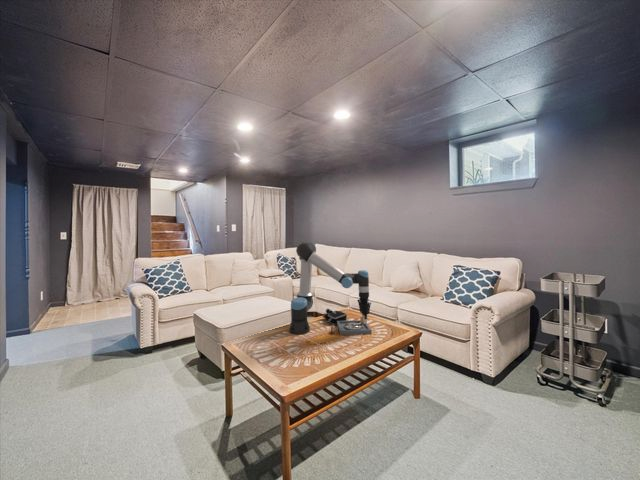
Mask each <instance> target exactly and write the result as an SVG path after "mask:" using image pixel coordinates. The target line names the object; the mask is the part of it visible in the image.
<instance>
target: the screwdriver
mask: <svg viewBox="0 0 640 480" xmlns="http://www.w3.org/2000/svg"><path fill="white" fill-rule="evenodd" d="M337 331H338V330H337V327H334V324H331V332H332V335H337Z"/></svg>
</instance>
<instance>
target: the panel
mask: <svg viewBox="0 0 640 480" xmlns="http://www.w3.org/2000/svg"><path fill="white" fill-rule="evenodd" d="M346 323H359V324H360V319H358V320H357V319H355V320H351V319H350V320H346V321H337V324H336V326H337V328H338V332H339V334H340V336H344V335H345V336H348V335H370V334H372V329H371V327H370V326H369V324H368V322H367V323H365V324H364V325H362V329H359V330H348V329H346V328H345V324H346Z"/></svg>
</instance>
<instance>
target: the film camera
mask: <svg viewBox="0 0 640 480" xmlns="http://www.w3.org/2000/svg"><path fill="white" fill-rule="evenodd" d="M347 315H348V314H347V313H346V312H343V311H341V310H331V309H330V308H326V309H325V312H324V313H323V314H322V318H323V319H327V320H326V321H327V322H328V323H329V324H331V325H333V326H335V325H336V326H337V321H348V319H347V318H348V316H347Z"/></svg>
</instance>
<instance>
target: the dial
mask: <svg viewBox="0 0 640 480" xmlns="http://www.w3.org/2000/svg"><path fill="white" fill-rule="evenodd" d="M359 320H360V324H359V323H346V324H345V328H346V329H348V330H359V329H362V325H364V324H363V318H362V317H360V319H359Z"/></svg>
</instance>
